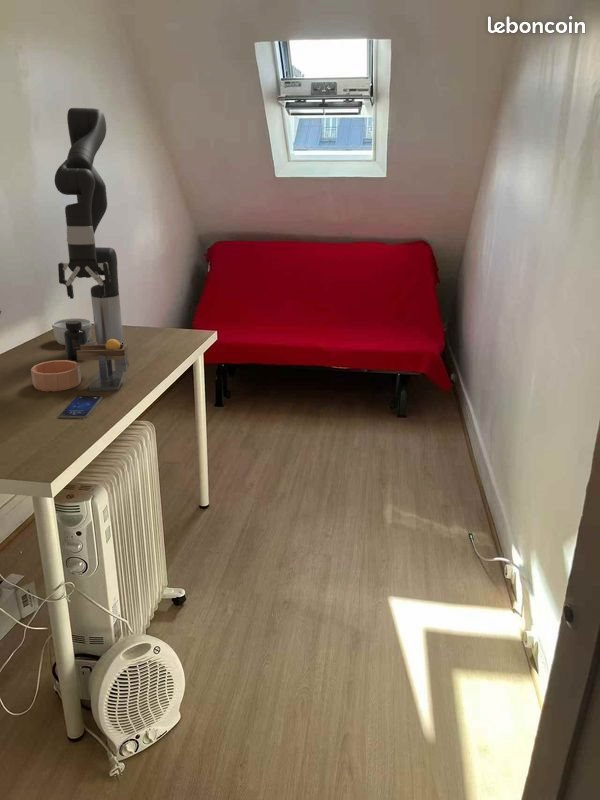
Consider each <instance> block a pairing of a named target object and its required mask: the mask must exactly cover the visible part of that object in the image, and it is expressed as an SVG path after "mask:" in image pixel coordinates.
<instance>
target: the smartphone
mask: <svg viewBox="0 0 600 800" xmlns="http://www.w3.org/2000/svg"><path fill="white" fill-rule="evenodd" d="M102 400H103V396H101V395H85V394H82V395H80V394H79V395H76V396H75V397H74V398H73V399H72V400H71V402H70V403H68V404H67V406H66V407H65V408H64V409H63V410H62V411H61V412H60V413H59V414H58V419H60V418H81V419H80V420H83V418H85V419H87V418H88V417H90V415H91V414H92V413H91V412H93V411H95V409H96V407H97V406H98V405H99V404H100V402H101V401H102ZM98 403H99V404H98ZM94 408H95V409H94Z"/></svg>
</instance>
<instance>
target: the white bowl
mask: <svg viewBox="0 0 600 800" xmlns="http://www.w3.org/2000/svg"><path fill="white" fill-rule="evenodd" d="M68 321H81V324H82V328H81V329H83V330H85V332H86V337H87V342H88V341H89V342H90V340H91V337H92V320H90V319H87V318H81V317H79V318H78V317H75V318H74V317H73V318H63V319H58V320H55V321H53V322H52V323H51V327H52V330H53V334H54V337H55V340H56V343H58V344H59V345H61V346H65V341H64V332H65V331H66V330H67V329H66V322H68Z"/></svg>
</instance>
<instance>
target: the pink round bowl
mask: <svg viewBox="0 0 600 800" xmlns="http://www.w3.org/2000/svg"><path fill="white" fill-rule="evenodd" d="M30 375H31V379H32V380H31V381H32V385H33V387H34V389H35V390H38V391H40V390H41V391H42V392H49V391H52V392H62V390H63V391H67V390H70V389H73V388H75V387H78V386H79V385H80V384H81V380H82V375H81V368H80V364H79V363H78V362H76V361H75V360H69V359H68V360H67V359H65V360H62V359H61V360H60V359H59V360H49V361H43V362H40V363H38V364H35V365H33V367H31V369H30Z"/></svg>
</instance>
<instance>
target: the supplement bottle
mask: <svg viewBox="0 0 600 800" xmlns="http://www.w3.org/2000/svg"><path fill="white" fill-rule="evenodd" d="M81 328H82V324H81V321H68V322H66V329H67V330H66V331H65V332H64V341H65V345H64V347H65V353H66V359H68V361H77V350H81V348H80V345H84V344H85V343H86V342H87V337H86V332H85V330H83V329H81Z"/></svg>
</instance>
